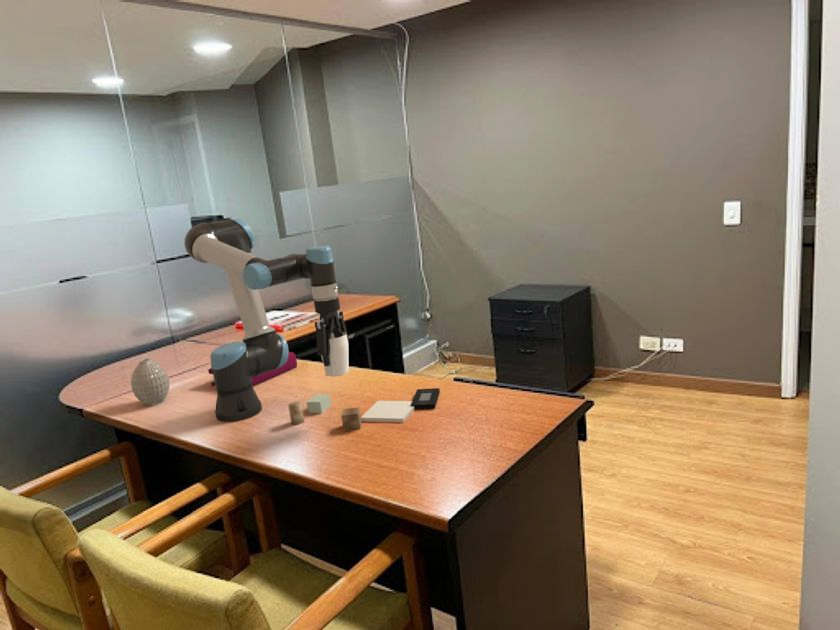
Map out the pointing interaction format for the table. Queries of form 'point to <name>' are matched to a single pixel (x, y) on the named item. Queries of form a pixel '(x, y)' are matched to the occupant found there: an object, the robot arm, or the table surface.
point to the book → (256, 380)
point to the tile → (389, 411)
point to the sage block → (318, 403)
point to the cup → (339, 354)
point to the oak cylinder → (296, 413)
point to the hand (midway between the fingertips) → (337, 370)
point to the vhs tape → (425, 399)
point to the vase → (150, 382)
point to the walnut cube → (351, 419)
